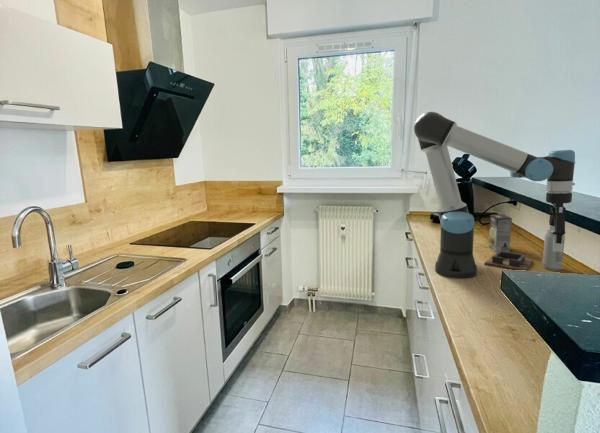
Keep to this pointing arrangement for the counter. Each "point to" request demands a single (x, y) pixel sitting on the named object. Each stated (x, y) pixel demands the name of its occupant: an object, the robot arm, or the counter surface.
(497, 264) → the socket board
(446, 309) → the counter surface
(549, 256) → the energy drink can
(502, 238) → the coffee box
